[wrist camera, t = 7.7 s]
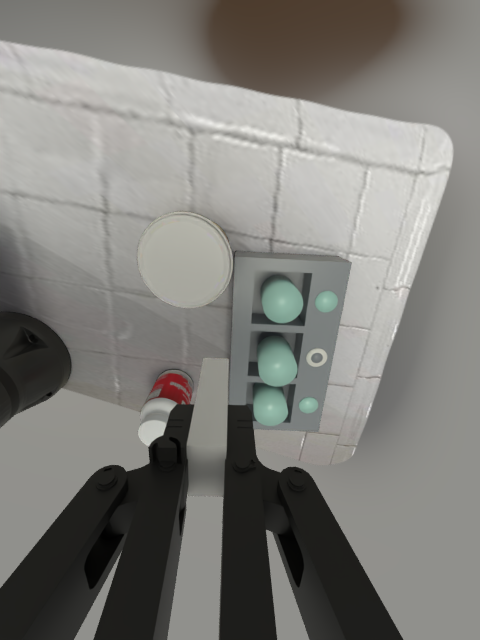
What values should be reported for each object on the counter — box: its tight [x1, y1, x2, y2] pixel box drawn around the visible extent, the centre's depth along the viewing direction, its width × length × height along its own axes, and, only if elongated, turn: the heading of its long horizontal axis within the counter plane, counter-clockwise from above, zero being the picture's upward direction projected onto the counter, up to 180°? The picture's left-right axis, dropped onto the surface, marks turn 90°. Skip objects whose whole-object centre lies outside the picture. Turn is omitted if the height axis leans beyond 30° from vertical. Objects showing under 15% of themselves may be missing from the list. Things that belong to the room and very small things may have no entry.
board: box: [229, 251, 352, 432], centre depth 40 cm, size 14×26×5 cm, turn 177°
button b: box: [257, 336, 297, 387], centre depth 36 cm, size 5×5×5 cm
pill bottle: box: [138, 370, 194, 446], centre depth 40 cm, size 6×6×11 cm
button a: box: [253, 382, 288, 426], centre depth 41 cm, size 5×5×5 cm
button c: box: [260, 275, 303, 323], centre depth 35 cm, size 5×5×5 cm
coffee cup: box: [137, 211, 233, 308], centre depth 32 cm, size 9×9×12 cm
